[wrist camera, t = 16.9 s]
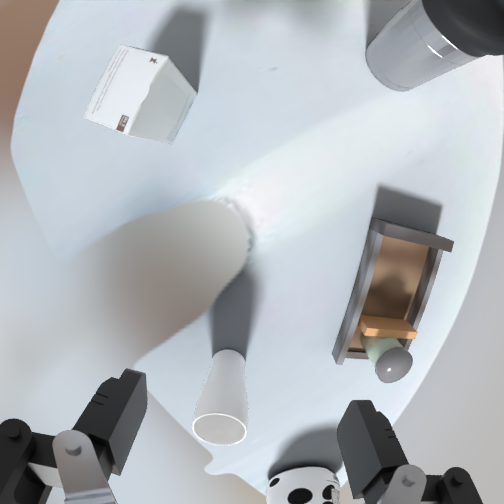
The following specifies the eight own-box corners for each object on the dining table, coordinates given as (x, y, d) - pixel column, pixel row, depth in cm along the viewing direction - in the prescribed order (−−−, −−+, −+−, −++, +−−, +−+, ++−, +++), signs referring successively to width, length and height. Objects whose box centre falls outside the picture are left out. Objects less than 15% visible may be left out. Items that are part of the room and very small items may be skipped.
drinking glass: (252, 346, 43) (251, 416, 28) (247, 379, 45) (244, 449, 30) (208, 341, 43) (190, 408, 28) (206, 374, 44) (191, 442, 30)
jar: (364, 319, 41) (386, 350, 33) (393, 322, 41) (418, 351, 33) (354, 348, 43) (372, 383, 34) (382, 350, 43) (403, 382, 34)
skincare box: (163, 81, 33) (118, 38, 19) (200, 94, 34) (171, 51, 20) (136, 134, 35) (77, 116, 21) (172, 149, 36) (126, 135, 22)
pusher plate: (357, 314, 40) (367, 328, 36) (405, 319, 41) (417, 332, 37) (355, 321, 41) (364, 335, 37) (403, 326, 41) (414, 339, 37)
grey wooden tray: (371, 217, 38) (386, 223, 33) (435, 234, 38) (454, 241, 33) (332, 353, 43) (339, 371, 38) (393, 357, 44) (404, 373, 39)
